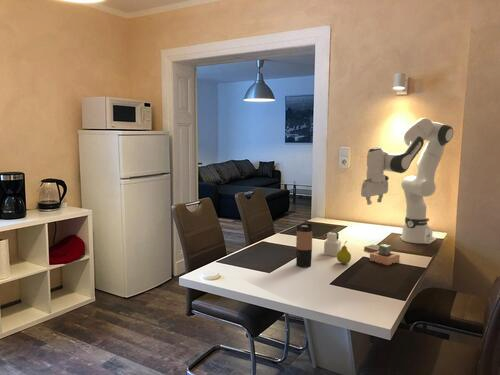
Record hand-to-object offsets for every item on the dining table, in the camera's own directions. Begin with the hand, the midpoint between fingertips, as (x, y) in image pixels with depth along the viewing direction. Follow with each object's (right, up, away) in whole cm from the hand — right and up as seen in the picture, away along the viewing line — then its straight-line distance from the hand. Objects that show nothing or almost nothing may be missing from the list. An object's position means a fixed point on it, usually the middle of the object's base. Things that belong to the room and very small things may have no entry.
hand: (374, 203), depth 219 cm
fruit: (-21, -29, -18) cm, 40 cm away
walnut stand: (+2, -26, +5) cm, 27 cm away
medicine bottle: (-23, -27, -2) cm, 36 cm away
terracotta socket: (+1, -29, -13) cm, 32 cm away
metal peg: (+1, -29, -13) cm, 32 cm away
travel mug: (-41, -30, -21) cm, 55 cm away
